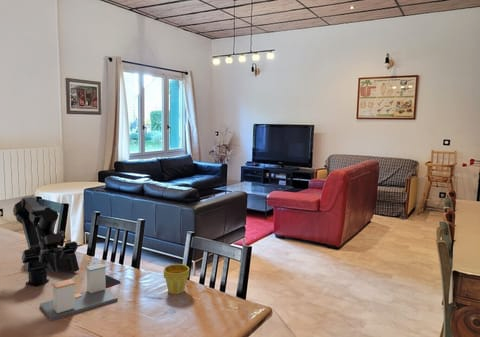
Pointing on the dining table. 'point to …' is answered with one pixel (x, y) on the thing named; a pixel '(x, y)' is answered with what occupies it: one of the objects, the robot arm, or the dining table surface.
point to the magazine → (67, 263)
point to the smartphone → (110, 281)
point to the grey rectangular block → (96, 278)
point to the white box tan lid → (63, 295)
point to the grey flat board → (81, 303)
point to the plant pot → (176, 278)
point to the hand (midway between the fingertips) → (56, 271)
